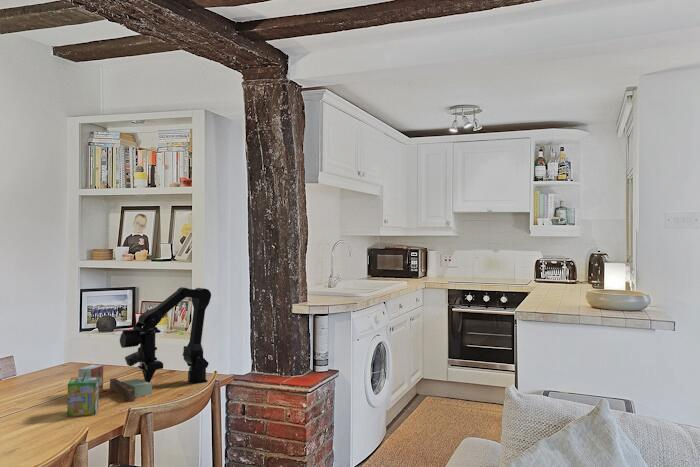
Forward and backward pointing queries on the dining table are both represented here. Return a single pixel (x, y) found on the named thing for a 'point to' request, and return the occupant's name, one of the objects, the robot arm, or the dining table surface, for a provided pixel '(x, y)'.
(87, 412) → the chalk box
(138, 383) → the sage block
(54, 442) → the dining table surface
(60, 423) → the dining table surface
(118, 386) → the walnut board
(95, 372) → the small box
